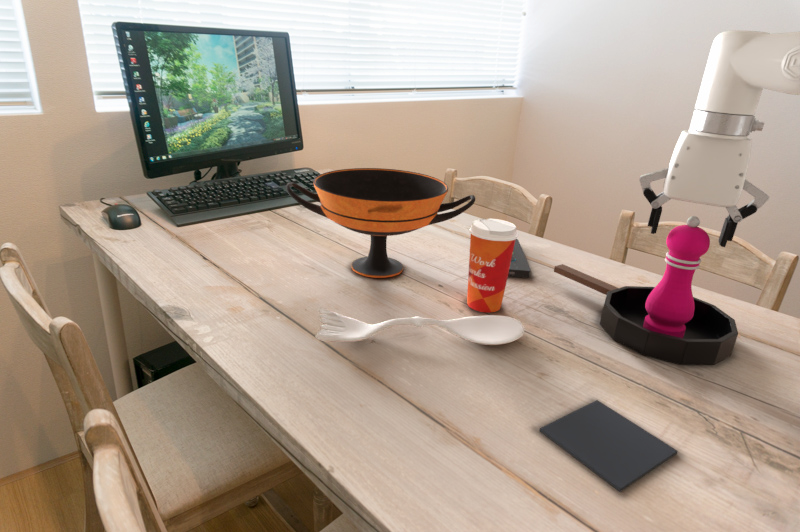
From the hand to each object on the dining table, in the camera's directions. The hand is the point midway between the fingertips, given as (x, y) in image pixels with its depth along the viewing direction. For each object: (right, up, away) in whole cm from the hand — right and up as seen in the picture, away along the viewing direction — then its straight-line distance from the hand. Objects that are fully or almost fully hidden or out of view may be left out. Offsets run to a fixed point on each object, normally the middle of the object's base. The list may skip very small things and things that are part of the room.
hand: (686, 237), depth 82 cm
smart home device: (-22, -3, +34) cm, 40 cm away
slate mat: (-20, -25, -20) cm, 38 cm away
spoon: (-41, -16, 0) cm, 44 cm away
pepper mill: (-1, -16, +6) cm, 17 cm away
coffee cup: (-30, -12, +12) cm, 34 cm away
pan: (-4, -13, +11) cm, 18 cm away
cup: (-49, -5, +25) cm, 55 cm away
